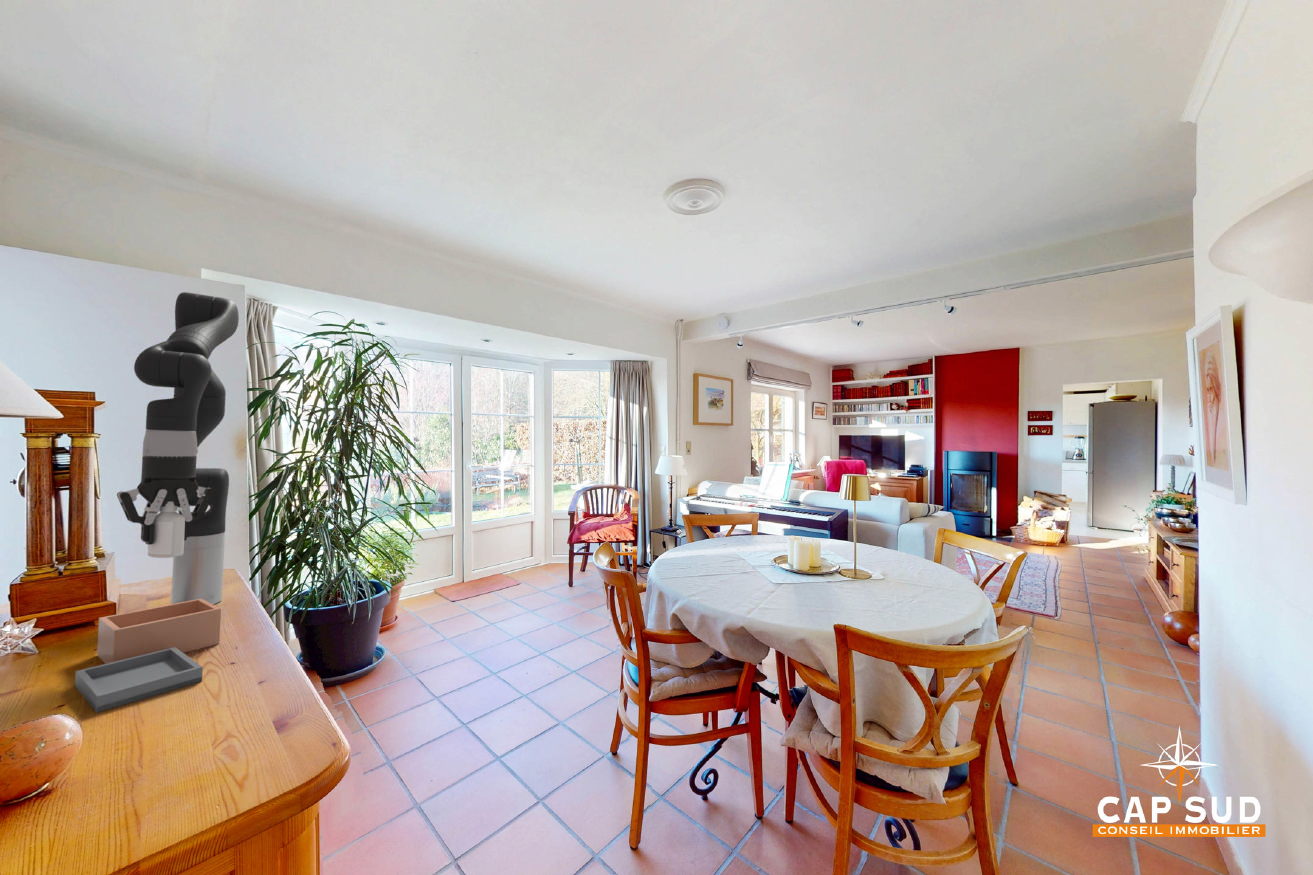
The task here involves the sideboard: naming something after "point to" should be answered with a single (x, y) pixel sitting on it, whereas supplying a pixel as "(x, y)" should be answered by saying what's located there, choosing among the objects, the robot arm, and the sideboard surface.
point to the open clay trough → (159, 630)
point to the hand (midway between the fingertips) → (165, 541)
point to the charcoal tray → (136, 678)
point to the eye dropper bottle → (168, 533)
